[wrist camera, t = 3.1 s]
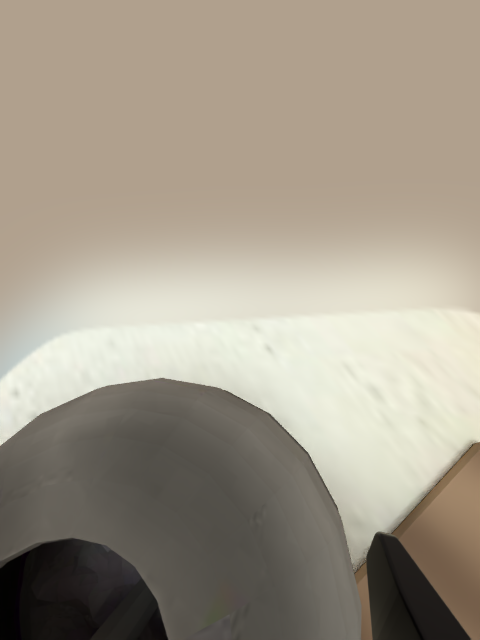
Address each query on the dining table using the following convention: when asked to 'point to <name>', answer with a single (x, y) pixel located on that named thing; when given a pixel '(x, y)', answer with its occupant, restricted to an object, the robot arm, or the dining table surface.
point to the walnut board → (444, 544)
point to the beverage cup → (168, 524)
